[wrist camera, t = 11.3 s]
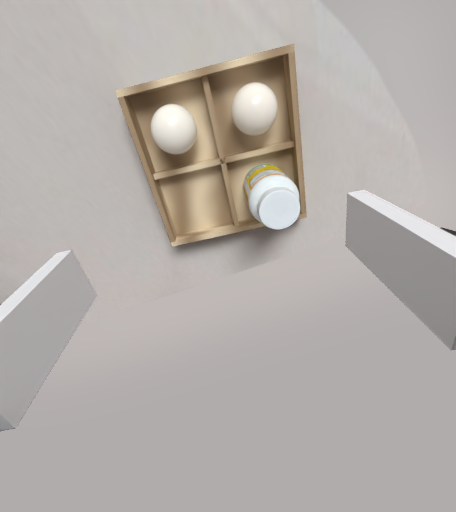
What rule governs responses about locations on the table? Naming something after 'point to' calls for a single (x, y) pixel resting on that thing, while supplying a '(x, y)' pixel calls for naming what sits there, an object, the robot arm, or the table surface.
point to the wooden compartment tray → (216, 143)
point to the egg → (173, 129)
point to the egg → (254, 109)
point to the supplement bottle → (271, 196)
